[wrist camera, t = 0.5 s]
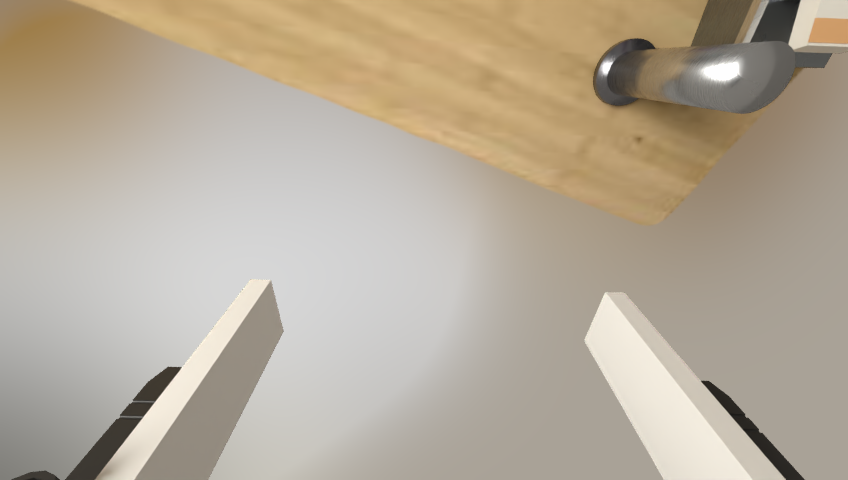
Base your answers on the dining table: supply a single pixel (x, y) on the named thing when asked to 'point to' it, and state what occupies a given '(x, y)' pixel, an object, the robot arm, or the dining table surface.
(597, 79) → the post
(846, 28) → the paddle
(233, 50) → the dining table surface
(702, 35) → the grey channel rail
